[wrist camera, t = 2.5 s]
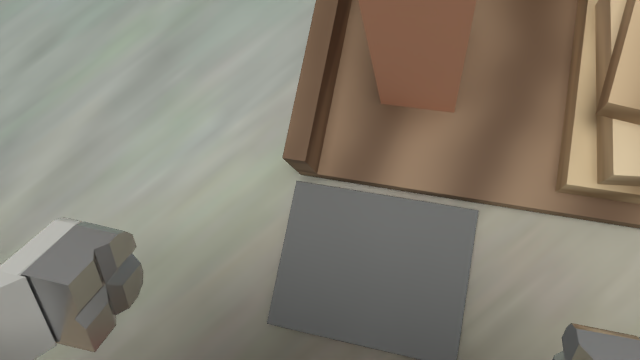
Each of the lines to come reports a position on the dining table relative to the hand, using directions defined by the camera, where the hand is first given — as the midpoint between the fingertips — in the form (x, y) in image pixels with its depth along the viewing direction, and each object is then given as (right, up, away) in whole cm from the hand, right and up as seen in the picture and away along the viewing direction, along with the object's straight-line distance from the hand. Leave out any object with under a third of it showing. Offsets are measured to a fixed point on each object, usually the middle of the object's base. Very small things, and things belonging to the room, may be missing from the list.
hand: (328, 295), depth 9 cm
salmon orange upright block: (+6, +9, +18) cm, 21 cm away
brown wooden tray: (+10, +7, +18) cm, 22 cm away
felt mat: (+3, -3, +18) cm, 18 cm away
